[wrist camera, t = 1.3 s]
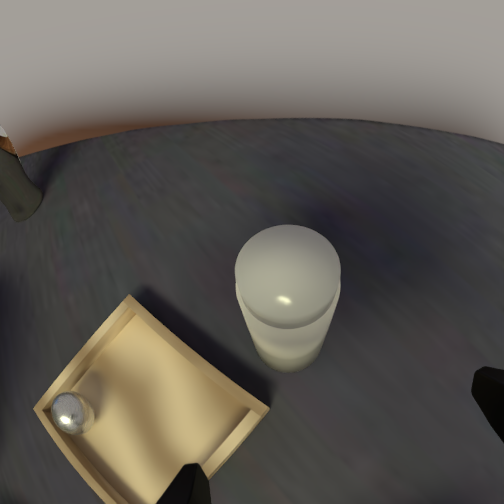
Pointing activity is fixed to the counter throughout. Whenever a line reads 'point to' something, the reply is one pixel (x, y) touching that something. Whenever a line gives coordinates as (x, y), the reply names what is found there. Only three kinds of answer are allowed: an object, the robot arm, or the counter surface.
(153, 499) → the tray
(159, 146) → the counter surface
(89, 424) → the ball
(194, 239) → the counter surface
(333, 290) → the ball
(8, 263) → the counter surface
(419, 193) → the counter surface
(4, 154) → the beer glass
